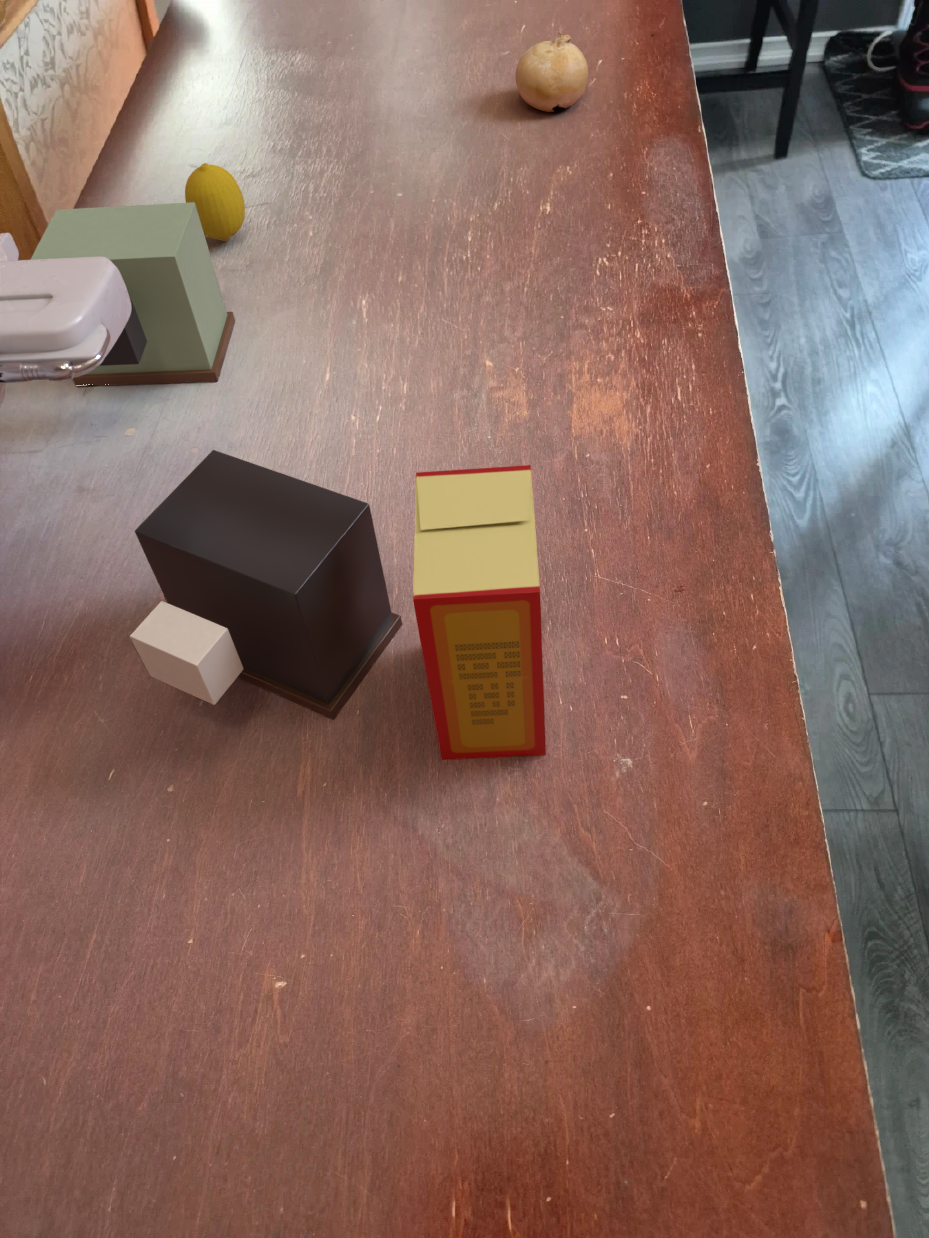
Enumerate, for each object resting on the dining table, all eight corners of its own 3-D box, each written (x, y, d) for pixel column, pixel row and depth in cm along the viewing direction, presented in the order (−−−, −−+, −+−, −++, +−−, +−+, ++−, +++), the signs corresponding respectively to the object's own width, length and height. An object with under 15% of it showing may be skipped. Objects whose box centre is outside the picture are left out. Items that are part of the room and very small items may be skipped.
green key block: (217, 381, 93) (178, 259, 84) (75, 387, 94) (21, 266, 85) (235, 320, 98) (200, 199, 89) (101, 326, 100) (52, 207, 90)
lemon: (189, 254, 106) (166, 178, 100) (210, 224, 109) (189, 148, 103) (241, 258, 105) (220, 181, 99) (260, 227, 108) (242, 151, 102)
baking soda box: (545, 754, 67) (539, 587, 54) (441, 759, 67) (412, 594, 55) (537, 635, 73) (530, 460, 60) (441, 640, 73) (415, 467, 61)
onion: (577, 123, 117) (577, 55, 111) (508, 117, 119) (504, 51, 113) (594, 89, 121) (595, 23, 116) (527, 84, 123) (525, 19, 118)
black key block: (333, 720, 69) (297, 601, 60) (180, 652, 74) (124, 533, 65) (402, 624, 74) (378, 501, 65) (254, 566, 79) (212, 443, 69)
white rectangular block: (214, 705, 64) (196, 665, 60) (149, 676, 65) (128, 635, 62) (244, 669, 65) (227, 628, 62) (180, 641, 67) (161, 600, 64)
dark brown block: (139, 364, 85) (122, 322, 82) (78, 367, 86) (60, 325, 83) (147, 341, 87) (132, 299, 84) (88, 344, 88) (70, 302, 85)
